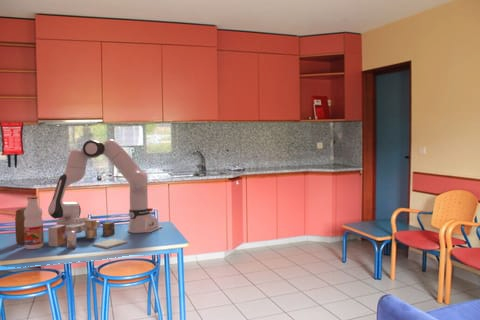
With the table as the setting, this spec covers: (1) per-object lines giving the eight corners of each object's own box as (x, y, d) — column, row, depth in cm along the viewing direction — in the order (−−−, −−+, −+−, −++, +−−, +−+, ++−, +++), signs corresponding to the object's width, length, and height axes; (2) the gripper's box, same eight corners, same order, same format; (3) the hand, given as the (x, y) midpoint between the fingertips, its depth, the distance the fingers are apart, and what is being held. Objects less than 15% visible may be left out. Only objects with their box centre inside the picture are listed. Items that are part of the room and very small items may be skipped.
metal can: (73, 246, 230) (72, 230, 229) (78, 247, 227) (78, 231, 227) (64, 248, 226) (64, 231, 225) (70, 249, 223) (69, 233, 222)
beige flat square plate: (113, 240, 242) (113, 238, 242) (127, 242, 236) (127, 241, 236) (92, 245, 231) (92, 243, 231) (107, 248, 224) (107, 246, 224)
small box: (57, 246, 229) (56, 227, 228) (48, 246, 230) (47, 227, 230) (66, 243, 237) (65, 224, 236) (57, 242, 238) (57, 224, 237)
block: (28, 245, 234) (27, 209, 232) (14, 245, 233) (13, 210, 232) (36, 240, 244) (35, 206, 243) (23, 240, 244) (21, 206, 243)
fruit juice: (47, 245, 231) (45, 195, 229) (33, 250, 222) (31, 198, 221) (35, 244, 235) (33, 195, 233) (20, 248, 226) (18, 197, 224)
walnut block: (109, 232, 261) (109, 221, 261) (114, 233, 259) (114, 222, 258) (102, 234, 257) (102, 223, 257) (108, 235, 255) (107, 224, 254)
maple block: (92, 235, 246) (91, 219, 245) (97, 236, 243) (96, 219, 242) (85, 237, 242) (84, 220, 241) (90, 238, 239) (89, 221, 239)
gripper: (61, 223, 240) (75, 225, 233) (91, 217, 257) (105, 219, 250) (61, 234, 241) (76, 237, 233) (91, 227, 258) (106, 229, 250)
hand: (91, 227), depth 242 cm, fingers closed on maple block, 4 cm apart
